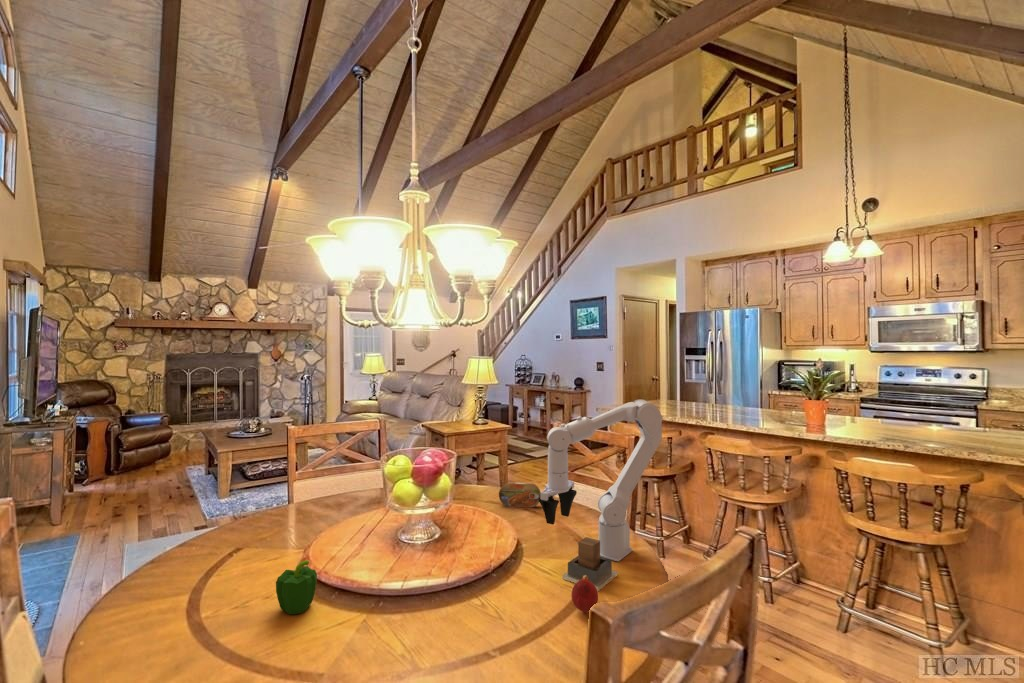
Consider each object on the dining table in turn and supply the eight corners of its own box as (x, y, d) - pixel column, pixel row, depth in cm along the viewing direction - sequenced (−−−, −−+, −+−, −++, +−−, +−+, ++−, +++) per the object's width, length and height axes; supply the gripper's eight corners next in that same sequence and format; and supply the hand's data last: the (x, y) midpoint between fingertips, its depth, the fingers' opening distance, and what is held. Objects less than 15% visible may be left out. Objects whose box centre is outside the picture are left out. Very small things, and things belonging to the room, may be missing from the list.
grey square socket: (582, 564, 132) (582, 549, 132) (617, 575, 125) (617, 559, 125) (562, 578, 124) (562, 562, 124) (598, 591, 118) (598, 574, 118)
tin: (498, 506, 178) (498, 482, 178) (500, 503, 181) (500, 480, 181) (540, 508, 175) (540, 485, 175) (541, 505, 178) (541, 482, 178)
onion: (597, 621, 105) (597, 583, 105) (570, 618, 106) (570, 581, 106) (598, 607, 111) (598, 571, 111) (572, 604, 112) (572, 568, 112)
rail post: (586, 567, 128) (586, 536, 128) (600, 572, 125) (600, 540, 125) (578, 573, 124) (578, 541, 124) (592, 578, 122) (592, 545, 122)
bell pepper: (276, 623, 104) (276, 575, 104) (275, 604, 111) (275, 560, 111) (319, 613, 108) (319, 567, 108) (315, 595, 115) (315, 553, 115)
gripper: (559, 463, 147) (559, 509, 147) (531, 474, 135) (531, 523, 135) (580, 467, 143) (580, 514, 143) (553, 478, 131) (552, 529, 131)
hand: (557, 519), depth 139 cm, fingers open, 7 cm apart
